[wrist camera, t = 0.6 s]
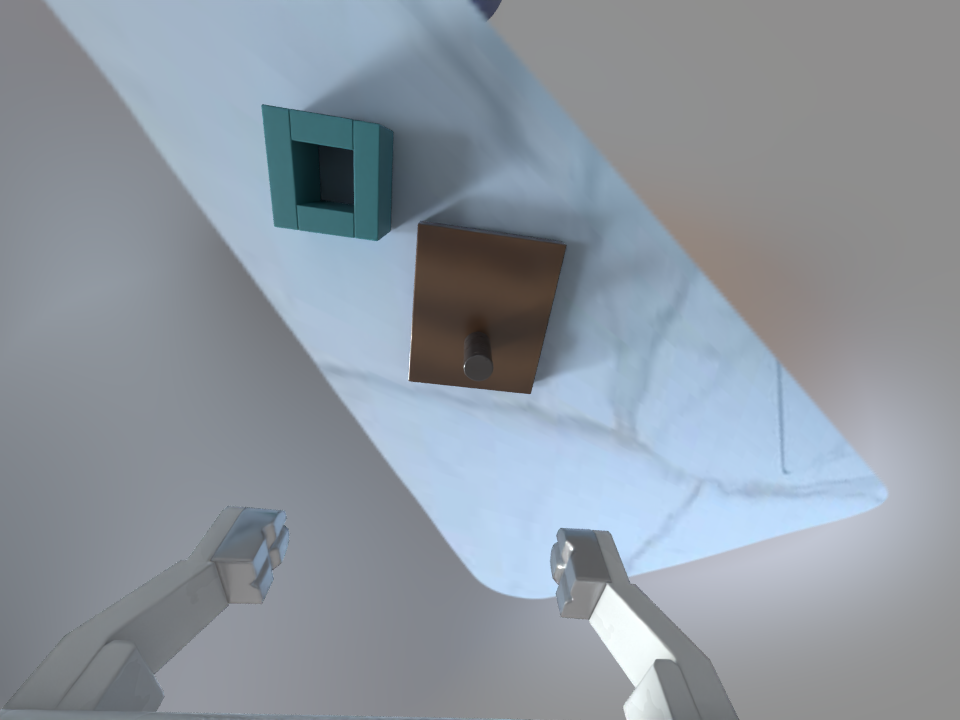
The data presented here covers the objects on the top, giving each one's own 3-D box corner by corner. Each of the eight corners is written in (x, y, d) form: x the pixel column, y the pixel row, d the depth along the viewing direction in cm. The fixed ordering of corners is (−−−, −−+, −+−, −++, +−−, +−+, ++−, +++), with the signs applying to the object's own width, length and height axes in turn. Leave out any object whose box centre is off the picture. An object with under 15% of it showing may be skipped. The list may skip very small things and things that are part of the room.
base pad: (420, 220, 25) (409, 232, 20) (561, 241, 26) (583, 257, 21) (410, 372, 31) (399, 410, 26) (528, 385, 32) (539, 424, 27)
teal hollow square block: (293, 114, 22) (260, 103, 19) (393, 131, 23) (379, 123, 19) (301, 218, 25) (273, 226, 21) (390, 231, 26) (378, 241, 22)
